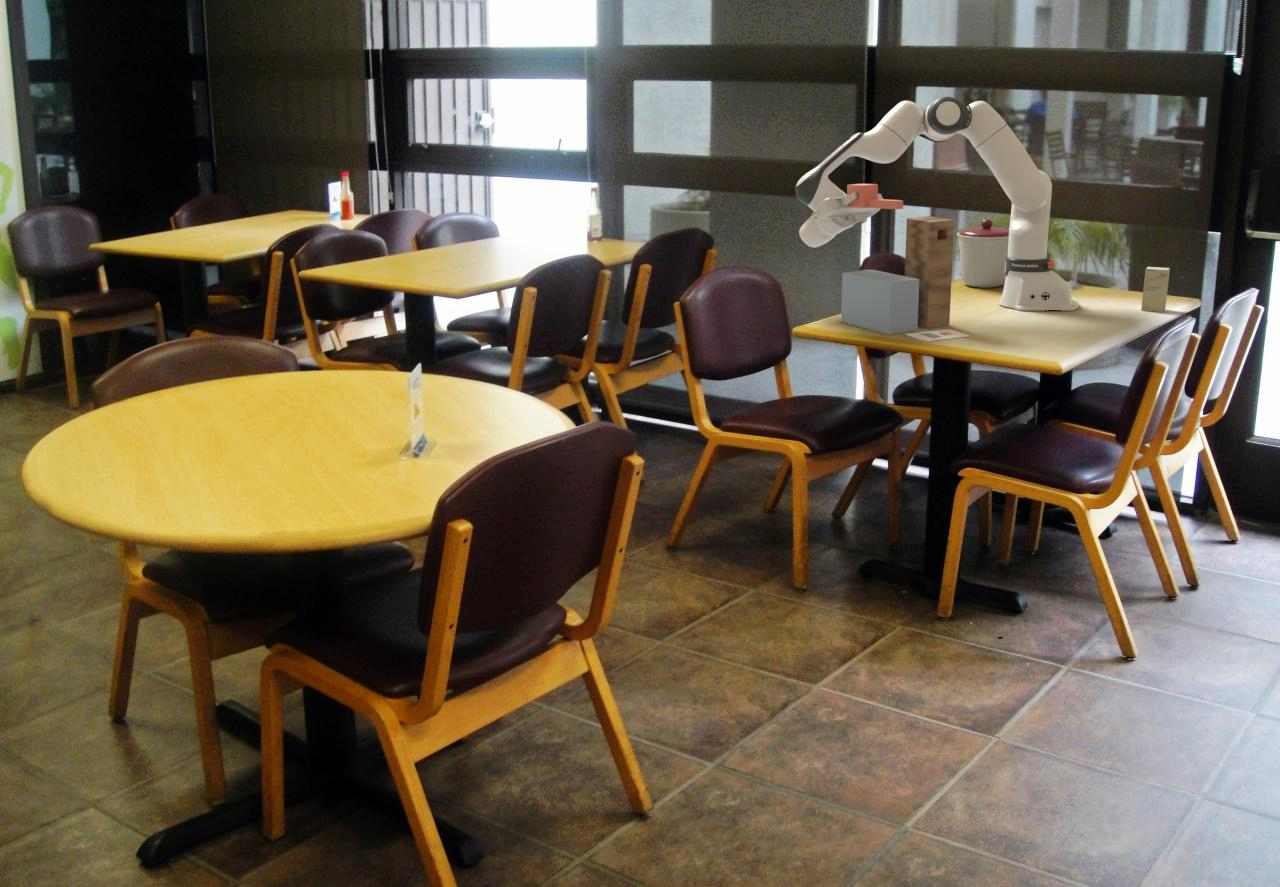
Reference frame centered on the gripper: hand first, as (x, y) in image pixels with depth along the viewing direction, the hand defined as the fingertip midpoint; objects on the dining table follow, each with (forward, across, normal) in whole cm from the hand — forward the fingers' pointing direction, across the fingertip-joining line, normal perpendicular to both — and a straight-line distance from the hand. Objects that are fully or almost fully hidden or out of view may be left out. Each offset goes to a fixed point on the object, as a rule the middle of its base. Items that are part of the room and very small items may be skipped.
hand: (865, 193), depth 376 cm
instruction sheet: (+4, +5, +44) cm, 44 cm away
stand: (-7, +13, +37) cm, 40 cm away
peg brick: (+2, 0, +5) cm, 6 cm away
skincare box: (+12, +79, +48) cm, 93 cm away
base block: (-12, 0, +34) cm, 36 cm away
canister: (-39, +69, +19) cm, 81 cm away
